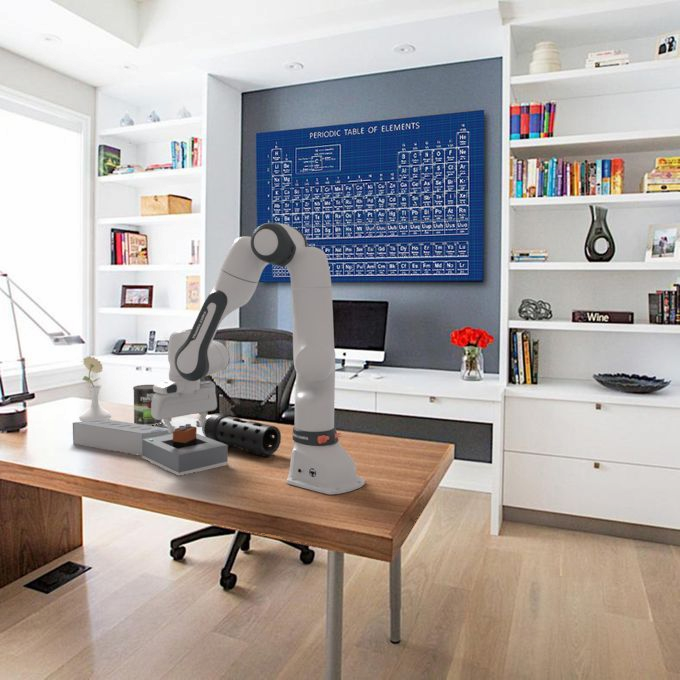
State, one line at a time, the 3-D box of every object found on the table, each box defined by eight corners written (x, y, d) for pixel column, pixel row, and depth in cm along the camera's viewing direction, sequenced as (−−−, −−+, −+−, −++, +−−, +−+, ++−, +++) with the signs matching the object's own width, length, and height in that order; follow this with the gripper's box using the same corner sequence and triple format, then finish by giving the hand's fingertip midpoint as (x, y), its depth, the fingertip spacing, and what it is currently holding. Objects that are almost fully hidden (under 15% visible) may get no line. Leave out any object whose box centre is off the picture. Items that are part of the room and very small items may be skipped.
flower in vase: (117, 421, 225) (115, 356, 223) (88, 426, 216) (87, 359, 214) (99, 416, 233) (97, 353, 231) (71, 421, 224) (69, 356, 222)
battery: (171, 459, 174) (172, 426, 173) (183, 454, 180) (184, 422, 179) (184, 461, 172) (185, 428, 172) (196, 455, 179) (197, 423, 178)
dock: (227, 464, 174) (227, 443, 174) (178, 476, 163) (178, 454, 162) (189, 448, 190) (189, 429, 189) (142, 458, 179) (142, 438, 178)
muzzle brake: (260, 461, 178) (260, 428, 177) (200, 445, 195) (199, 414, 194) (281, 454, 186) (281, 422, 185) (221, 439, 203) (221, 410, 202)
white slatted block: (174, 446, 194) (174, 423, 194) (143, 457, 181) (142, 433, 181) (107, 435, 207) (106, 414, 206) (73, 445, 194) (72, 422, 193)
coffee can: (164, 424, 221) (164, 387, 220) (136, 427, 216) (135, 389, 215) (159, 419, 230) (158, 383, 229) (131, 421, 225) (130, 385, 224)
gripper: (209, 378, 184) (210, 421, 185) (147, 386, 169) (149, 433, 171) (220, 380, 179) (221, 425, 180) (157, 389, 165) (159, 437, 166)
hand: (186, 429), depth 176 cm, fingers open, 8 cm apart
